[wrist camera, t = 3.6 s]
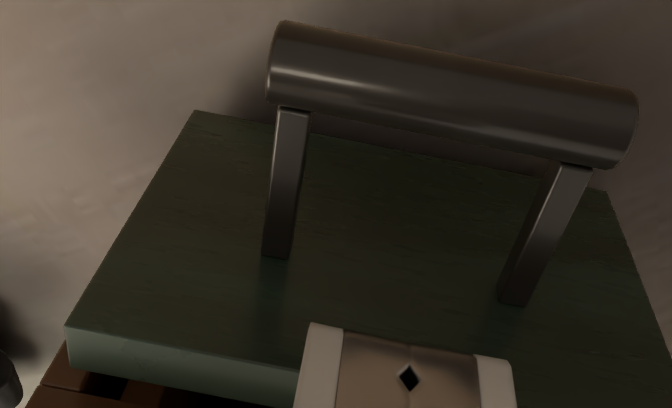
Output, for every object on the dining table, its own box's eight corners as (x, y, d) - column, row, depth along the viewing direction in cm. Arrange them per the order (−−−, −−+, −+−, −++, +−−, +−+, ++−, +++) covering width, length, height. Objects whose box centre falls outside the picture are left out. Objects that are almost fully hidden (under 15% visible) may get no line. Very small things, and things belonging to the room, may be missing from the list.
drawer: (198, -83, 14) (21, 66, 8) (699, 17, 14) (909, 242, 8) (186, 416, 26) (111, 633, 20) (459, 470, 26) (469, 702, 20)
